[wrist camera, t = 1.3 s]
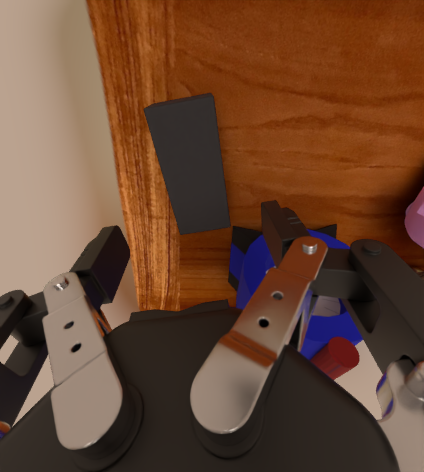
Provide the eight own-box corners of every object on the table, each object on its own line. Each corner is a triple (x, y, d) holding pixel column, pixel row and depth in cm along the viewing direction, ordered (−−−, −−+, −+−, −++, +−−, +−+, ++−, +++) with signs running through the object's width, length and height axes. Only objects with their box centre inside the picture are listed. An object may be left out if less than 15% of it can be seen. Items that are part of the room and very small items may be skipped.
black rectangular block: (151, 103, 19) (143, 108, 16) (211, 92, 18) (213, 95, 16) (182, 217, 25) (180, 235, 22) (227, 209, 25) (230, 227, 22)
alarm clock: (338, 219, 26) (462, 345, 14) (310, 291, 33) (375, 417, 21) (233, 220, 25) (264, 353, 13) (227, 293, 33) (243, 423, 20)
